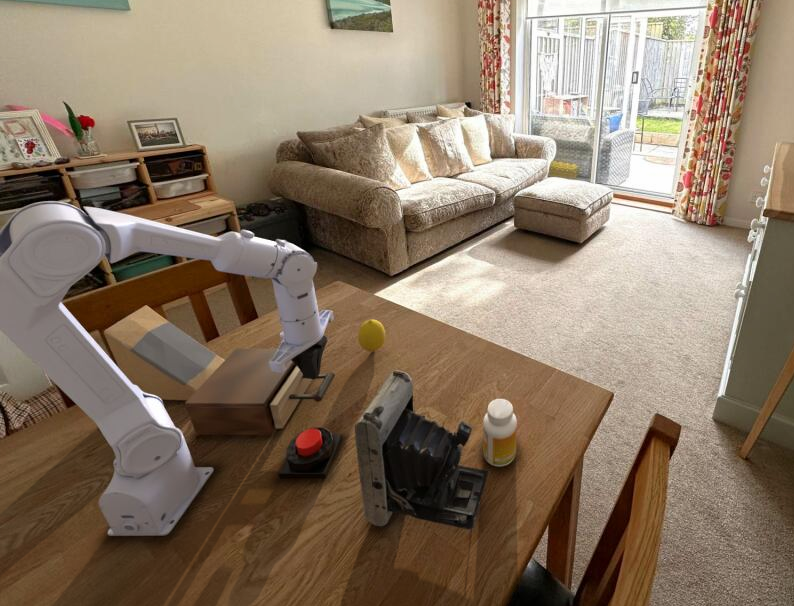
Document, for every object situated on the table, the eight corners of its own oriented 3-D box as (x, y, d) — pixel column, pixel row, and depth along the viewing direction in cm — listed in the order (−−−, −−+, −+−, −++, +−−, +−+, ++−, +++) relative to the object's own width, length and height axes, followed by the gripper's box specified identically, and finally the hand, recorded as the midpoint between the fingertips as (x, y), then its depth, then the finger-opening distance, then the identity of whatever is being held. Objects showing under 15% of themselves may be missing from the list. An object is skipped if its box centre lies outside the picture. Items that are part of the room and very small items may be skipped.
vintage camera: (469, 555, 53) (475, 444, 46) (362, 525, 55) (350, 415, 48) (488, 486, 62) (495, 384, 55) (394, 463, 64) (389, 362, 57)
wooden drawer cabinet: (308, 377, 81) (302, 348, 78) (271, 435, 68) (263, 403, 66) (244, 376, 81) (236, 348, 78) (196, 435, 68) (184, 403, 65)
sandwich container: (210, 402, 74) (188, 335, 69) (129, 398, 75) (101, 331, 69) (241, 369, 82) (223, 307, 77) (168, 366, 83) (145, 303, 77)
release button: (316, 456, 62) (315, 448, 61) (293, 456, 62) (291, 448, 61) (326, 436, 65) (324, 428, 65) (303, 436, 65) (302, 428, 65)
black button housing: (325, 478, 61) (322, 465, 60) (279, 479, 61) (275, 465, 60) (342, 439, 68) (340, 426, 67) (300, 439, 68) (297, 425, 67)
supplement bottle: (522, 448, 67) (524, 404, 63) (503, 474, 63) (504, 428, 59) (495, 433, 70) (496, 389, 66) (476, 456, 66) (476, 411, 62)
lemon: (355, 356, 87) (350, 325, 84) (370, 340, 92) (366, 310, 89) (377, 361, 86) (373, 330, 83) (391, 345, 91) (388, 315, 88)
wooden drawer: (343, 376, 80) (339, 354, 78) (316, 428, 69) (311, 405, 67) (255, 375, 80) (250, 354, 78) (214, 428, 68) (206, 404, 66)
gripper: (304, 287, 74) (315, 347, 79) (244, 336, 61) (262, 404, 66) (339, 291, 73) (349, 351, 79) (287, 341, 60) (302, 410, 65)
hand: (312, 376), depth 72 cm, fingers closed
